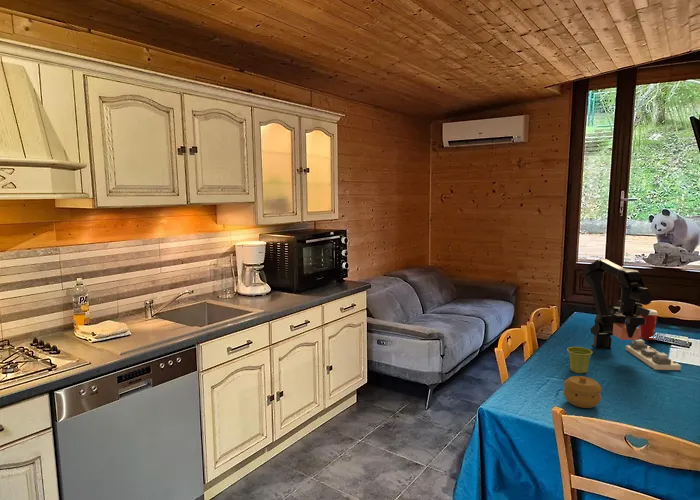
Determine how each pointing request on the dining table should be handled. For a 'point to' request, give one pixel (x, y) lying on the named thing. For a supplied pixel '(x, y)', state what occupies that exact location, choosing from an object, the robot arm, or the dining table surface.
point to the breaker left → (639, 342)
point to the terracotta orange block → (624, 332)
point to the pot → (582, 391)
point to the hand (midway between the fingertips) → (625, 334)
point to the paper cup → (648, 325)
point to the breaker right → (661, 356)
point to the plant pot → (579, 359)
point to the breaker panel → (652, 358)
